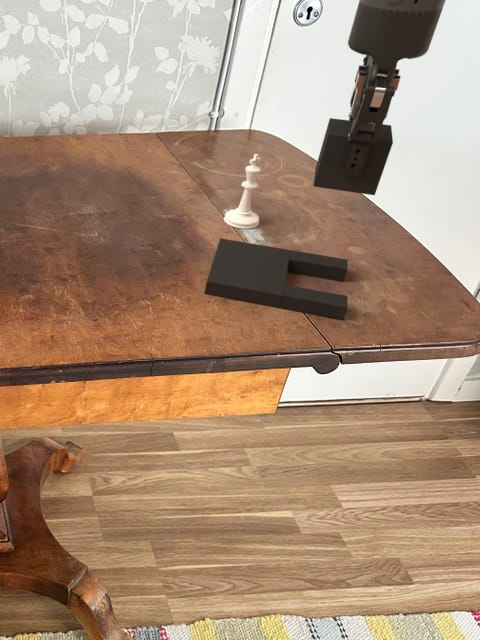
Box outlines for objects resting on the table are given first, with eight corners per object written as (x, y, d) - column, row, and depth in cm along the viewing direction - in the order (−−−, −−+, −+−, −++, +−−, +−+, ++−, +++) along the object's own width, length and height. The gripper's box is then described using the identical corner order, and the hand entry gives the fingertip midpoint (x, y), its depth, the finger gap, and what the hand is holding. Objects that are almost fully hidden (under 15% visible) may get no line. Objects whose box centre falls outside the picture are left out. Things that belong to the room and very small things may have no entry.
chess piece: (266, 223, 102) (283, 156, 96) (242, 231, 100) (258, 164, 94) (240, 210, 105) (254, 145, 99) (216, 218, 103) (230, 152, 97)
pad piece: (373, 176, 82) (391, 125, 78) (374, 195, 77) (393, 142, 74) (315, 168, 83) (329, 117, 80) (313, 186, 79) (328, 134, 76)
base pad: (343, 271, 91) (347, 259, 90) (343, 320, 82) (347, 307, 81) (217, 249, 96) (220, 237, 95) (204, 293, 87) (206, 281, 86)
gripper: (451, 18, 63) (387, 195, 73) (438, -11, 73) (384, 148, 83) (360, 11, 65) (311, 184, 75) (360, -16, 75) (317, 139, 86)
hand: (349, 164), depth 79 cm, fingers closed on pad piece, 5 cm apart
